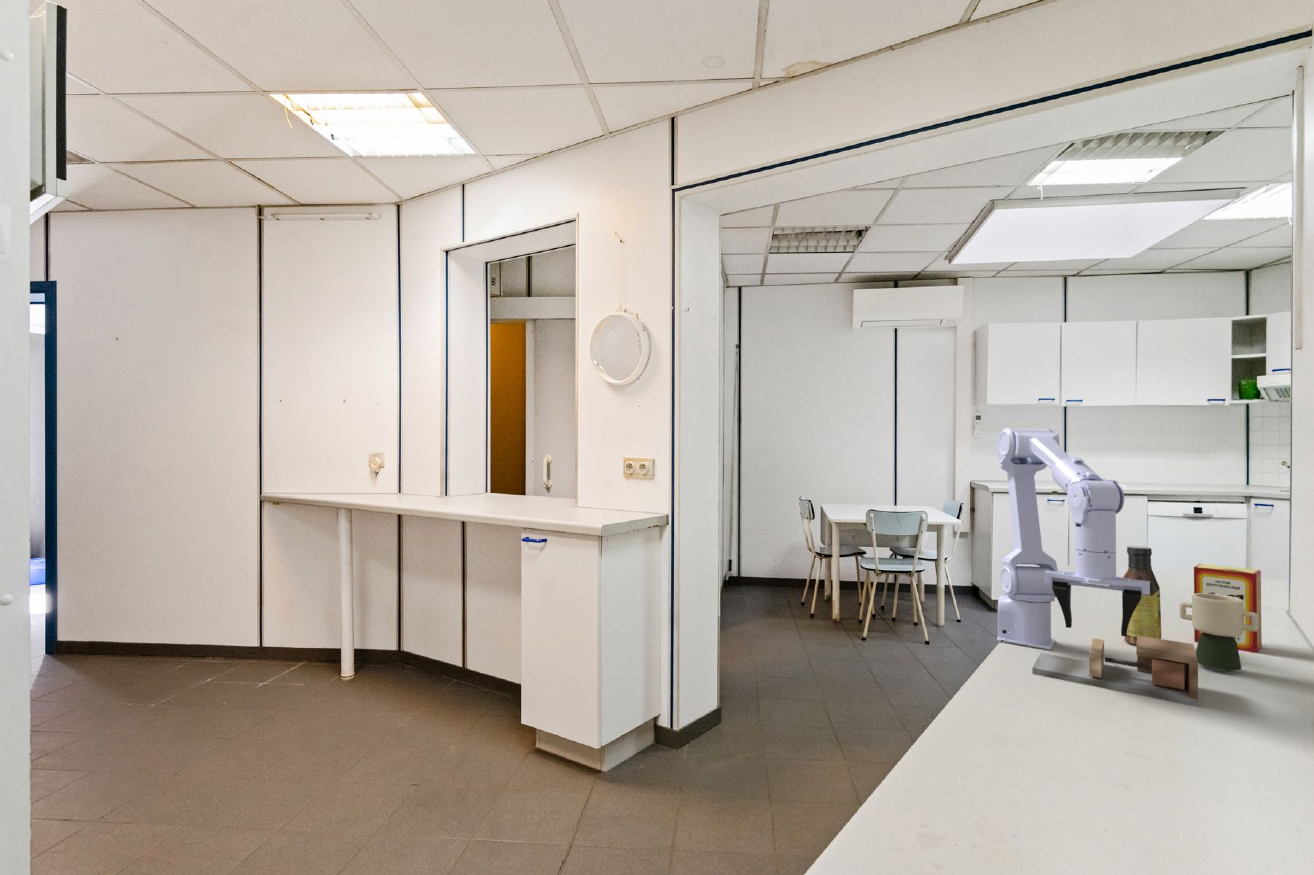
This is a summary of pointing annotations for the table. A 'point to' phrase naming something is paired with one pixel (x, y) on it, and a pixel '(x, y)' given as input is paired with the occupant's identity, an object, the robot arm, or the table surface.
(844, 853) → the table surface
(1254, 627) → the character mug
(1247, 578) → the baking soda box
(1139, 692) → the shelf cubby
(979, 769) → the table surface
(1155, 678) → the pull block
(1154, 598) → the sauce bottle
